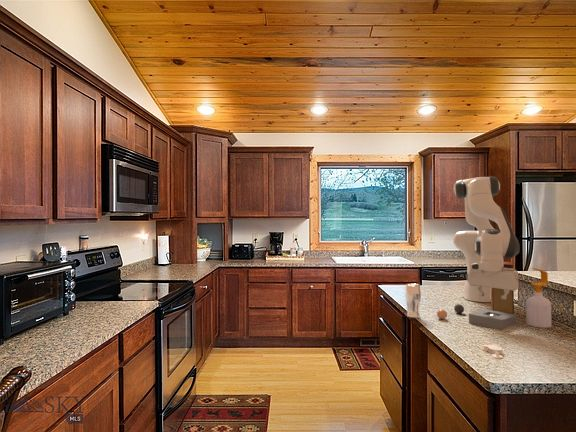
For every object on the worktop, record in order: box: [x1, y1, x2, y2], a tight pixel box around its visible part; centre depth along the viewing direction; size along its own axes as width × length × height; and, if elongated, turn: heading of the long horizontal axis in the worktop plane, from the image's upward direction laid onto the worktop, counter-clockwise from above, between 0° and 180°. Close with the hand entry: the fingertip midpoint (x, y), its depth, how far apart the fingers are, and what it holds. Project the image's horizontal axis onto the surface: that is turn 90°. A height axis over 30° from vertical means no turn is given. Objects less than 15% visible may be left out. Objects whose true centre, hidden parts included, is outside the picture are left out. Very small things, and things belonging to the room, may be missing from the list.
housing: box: [468, 308, 517, 331], centre depth 168 cm, size 14×14×4 cm
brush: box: [482, 344, 504, 360], centre depth 132 cm, size 9×9×2 cm
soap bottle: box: [525, 267, 552, 329], centre depth 165 cm, size 9×9×25 cm
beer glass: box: [405, 283, 422, 319], centre depth 181 cm, size 7×7×15 cm
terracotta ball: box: [436, 308, 448, 320], centre depth 176 cm, size 4×4×4 cm
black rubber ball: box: [453, 303, 465, 314], centre depth 186 cm, size 4×4×4 cm
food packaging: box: [490, 261, 515, 314], centre depth 182 cm, size 13×9×25 cm
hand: (492, 297), depth 168 cm, fingers open, 8 cm apart
